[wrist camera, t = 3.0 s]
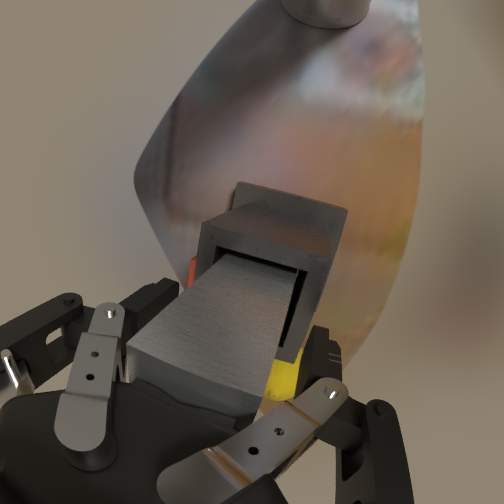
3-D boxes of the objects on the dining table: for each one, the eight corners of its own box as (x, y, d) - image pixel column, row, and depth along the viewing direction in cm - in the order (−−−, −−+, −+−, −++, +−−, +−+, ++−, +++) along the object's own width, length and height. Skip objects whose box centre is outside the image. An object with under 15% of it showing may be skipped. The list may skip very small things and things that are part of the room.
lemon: (269, 367, 31) (253, 416, 23) (255, 329, 30) (235, 376, 22) (315, 361, 29) (310, 412, 22) (305, 321, 28) (297, 370, 20)
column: (261, 221, 24) (122, 339, 7) (307, 234, 24) (267, 396, 6) (251, 264, 26) (132, 420, 8) (294, 277, 25) (237, 463, 8)
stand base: (241, 181, 26) (181, 189, 14) (346, 208, 24) (369, 238, 13) (222, 277, 29) (165, 338, 18) (316, 304, 27) (309, 386, 16)
